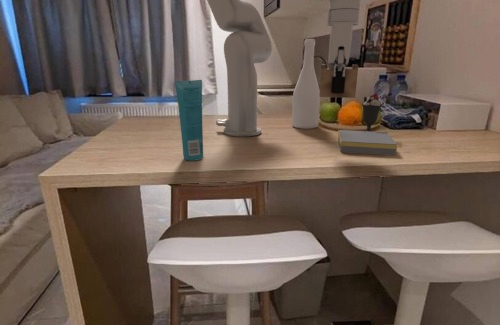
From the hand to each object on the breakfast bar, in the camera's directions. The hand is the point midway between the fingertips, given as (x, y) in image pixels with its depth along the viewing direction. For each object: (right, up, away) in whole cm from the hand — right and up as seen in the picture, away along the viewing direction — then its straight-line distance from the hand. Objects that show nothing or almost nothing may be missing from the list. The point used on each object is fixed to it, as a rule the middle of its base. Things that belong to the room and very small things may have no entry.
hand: (337, 91), depth 87 cm
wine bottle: (-3, -6, +32) cm, 33 cm away
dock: (+10, -14, +7) cm, 19 cm away
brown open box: (0, -1, 0) cm, 1 cm away
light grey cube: (-1, +6, -2) cm, 6 cm away
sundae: (+16, -10, +20) cm, 27 cm away
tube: (-38, -18, -5) cm, 42 cm away
